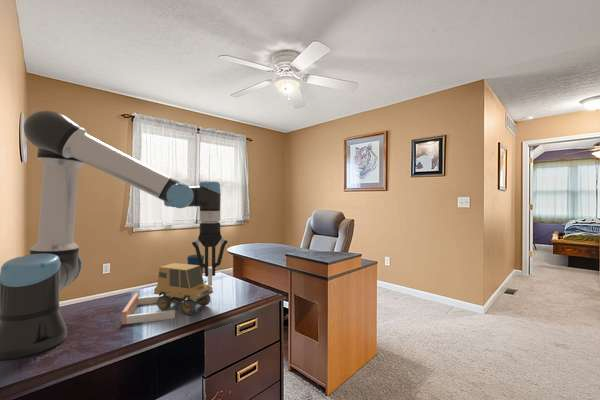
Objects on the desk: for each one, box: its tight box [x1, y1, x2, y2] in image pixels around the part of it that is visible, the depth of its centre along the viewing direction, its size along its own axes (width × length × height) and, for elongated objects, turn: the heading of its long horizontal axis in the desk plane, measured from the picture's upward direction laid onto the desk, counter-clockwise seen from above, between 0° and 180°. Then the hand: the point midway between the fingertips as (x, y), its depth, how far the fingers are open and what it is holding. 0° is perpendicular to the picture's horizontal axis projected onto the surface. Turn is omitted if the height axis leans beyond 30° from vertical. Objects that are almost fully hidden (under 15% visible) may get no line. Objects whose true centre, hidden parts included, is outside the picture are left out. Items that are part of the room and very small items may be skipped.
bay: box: [121, 292, 176, 325], centre depth 99 cm, size 15×18×4 cm
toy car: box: [153, 262, 214, 316], centre depth 102 cm, size 10×19×15 cm, turn 70°
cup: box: [186, 254, 205, 276], centre depth 122 cm, size 7×7×15 cm
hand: (210, 284), depth 106 cm, fingers closed
